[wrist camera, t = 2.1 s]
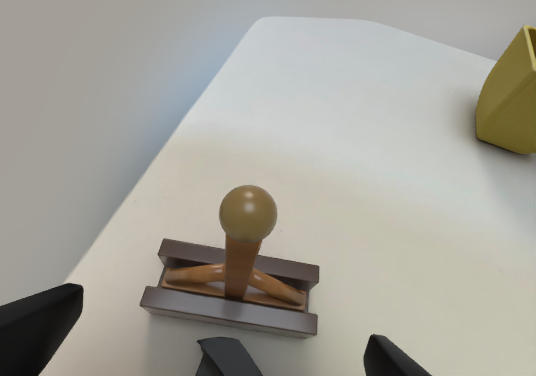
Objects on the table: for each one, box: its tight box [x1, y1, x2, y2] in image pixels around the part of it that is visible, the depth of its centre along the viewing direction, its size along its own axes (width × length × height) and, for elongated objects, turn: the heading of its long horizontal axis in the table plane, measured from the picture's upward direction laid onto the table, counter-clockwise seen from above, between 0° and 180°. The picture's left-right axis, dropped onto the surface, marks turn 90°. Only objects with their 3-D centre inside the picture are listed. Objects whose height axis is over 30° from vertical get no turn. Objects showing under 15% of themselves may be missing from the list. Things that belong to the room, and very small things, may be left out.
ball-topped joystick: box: [161, 185, 306, 312], centre depth 13 cm, size 2×9×13 cm, turn 83°
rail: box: [140, 239, 319, 339], centre depth 18 cm, size 4×10×3 cm, turn 82°
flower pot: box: [476, 25, 536, 154], centre depth 28 cm, size 9×9×9 cm
